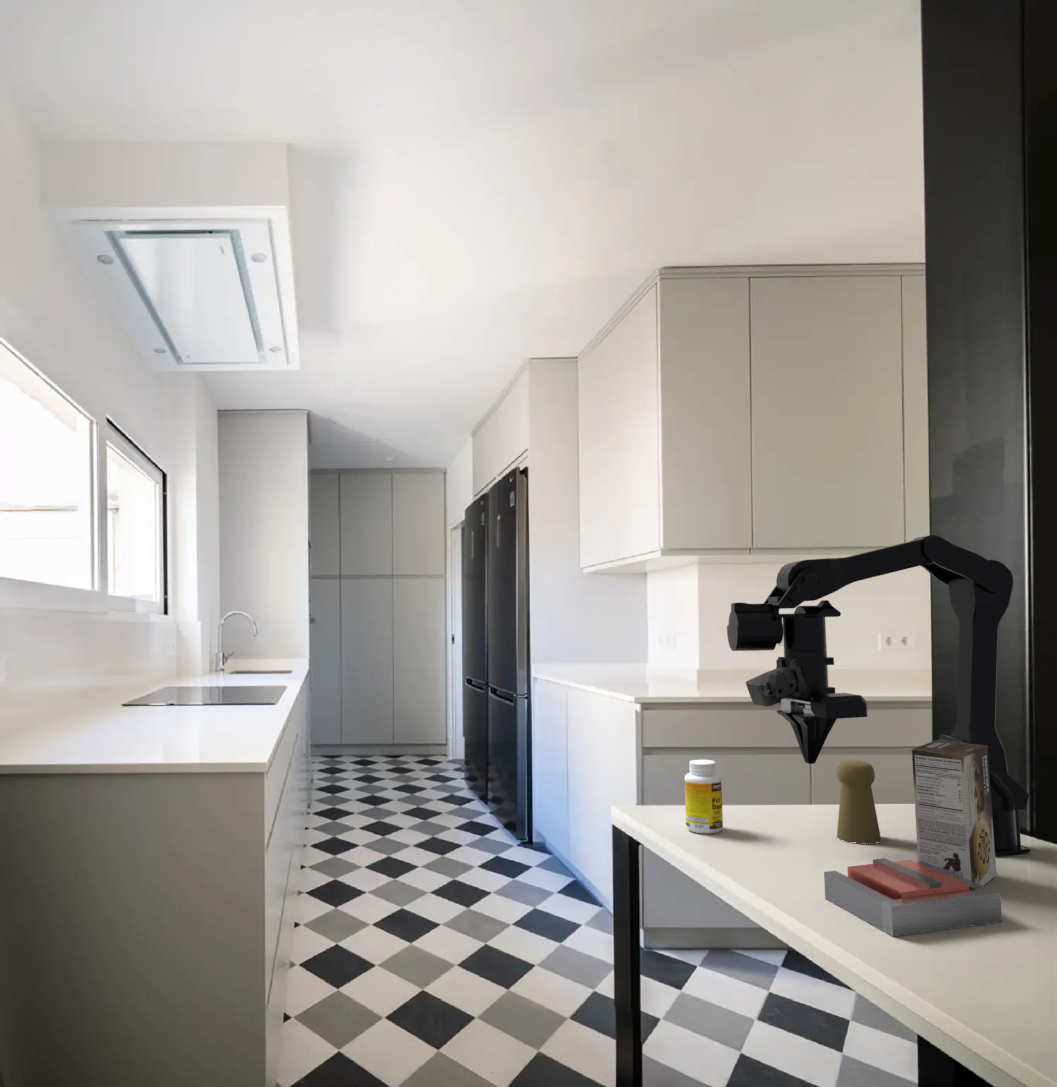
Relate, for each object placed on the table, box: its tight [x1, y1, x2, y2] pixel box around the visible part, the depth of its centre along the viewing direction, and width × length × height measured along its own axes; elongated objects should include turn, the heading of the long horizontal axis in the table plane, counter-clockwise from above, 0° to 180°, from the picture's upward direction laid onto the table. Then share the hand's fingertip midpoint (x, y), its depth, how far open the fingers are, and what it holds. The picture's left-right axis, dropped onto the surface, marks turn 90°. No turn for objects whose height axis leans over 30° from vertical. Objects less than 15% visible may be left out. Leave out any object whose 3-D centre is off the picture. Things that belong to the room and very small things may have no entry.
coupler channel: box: [823, 860, 1003, 938], centre depth 90 cm, size 14×12×3 cm
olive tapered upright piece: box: [836, 759, 882, 845], centre depth 118 cm, size 6×6×11 cm
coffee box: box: [911, 739, 998, 886], centre depth 100 cm, size 9×6×16 cm
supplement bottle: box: [684, 759, 724, 835], centre depth 124 cm, size 6×6×10 cm
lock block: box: [847, 857, 969, 900], centre depth 90 cm, size 8×9×4 cm
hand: (810, 763), depth 113 cm, fingers closed
